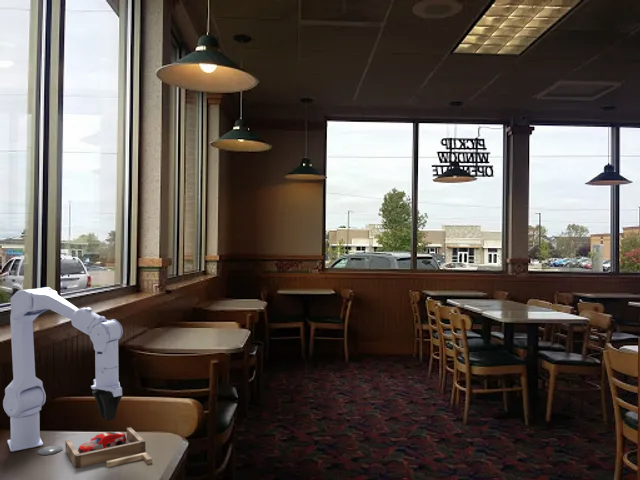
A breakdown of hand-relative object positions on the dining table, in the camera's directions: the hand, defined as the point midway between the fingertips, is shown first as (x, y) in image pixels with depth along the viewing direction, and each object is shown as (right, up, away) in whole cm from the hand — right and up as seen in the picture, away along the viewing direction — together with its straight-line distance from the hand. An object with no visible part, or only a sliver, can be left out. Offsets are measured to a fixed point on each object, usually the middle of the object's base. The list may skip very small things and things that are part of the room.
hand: (107, 418), depth 147 cm
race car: (-3, -11, +5) cm, 12 cm away
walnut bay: (-2, -10, +2) cm, 10 cm away
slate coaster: (-17, -10, +4) cm, 20 cm away
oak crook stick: (+8, -10, -6) cm, 14 cm away
